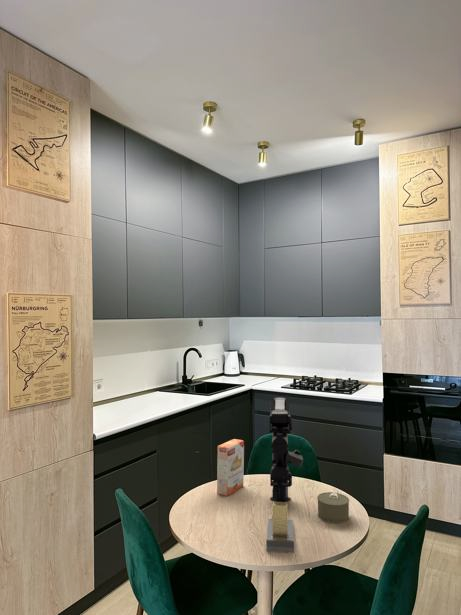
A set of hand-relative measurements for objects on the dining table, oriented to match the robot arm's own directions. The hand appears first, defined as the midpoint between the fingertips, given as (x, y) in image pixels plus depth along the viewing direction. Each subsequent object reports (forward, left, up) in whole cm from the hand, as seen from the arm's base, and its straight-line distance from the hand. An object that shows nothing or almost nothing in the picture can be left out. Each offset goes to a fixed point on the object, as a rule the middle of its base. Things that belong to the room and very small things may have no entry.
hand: (280, 487), depth 164 cm
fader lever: (+12, +10, -11) cm, 20 cm away
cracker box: (-8, -36, -13) cm, 39 cm away
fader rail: (+8, +6, -13) cm, 16 cm away
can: (-19, +10, -13) cm, 26 cm away
